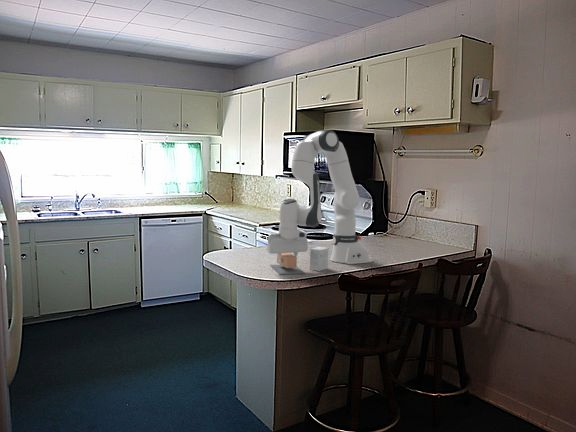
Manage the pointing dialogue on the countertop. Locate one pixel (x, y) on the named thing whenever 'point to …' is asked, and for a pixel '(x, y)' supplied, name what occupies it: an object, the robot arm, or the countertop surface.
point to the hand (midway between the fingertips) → (287, 261)
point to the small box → (319, 258)
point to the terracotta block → (288, 260)
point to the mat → (286, 270)
